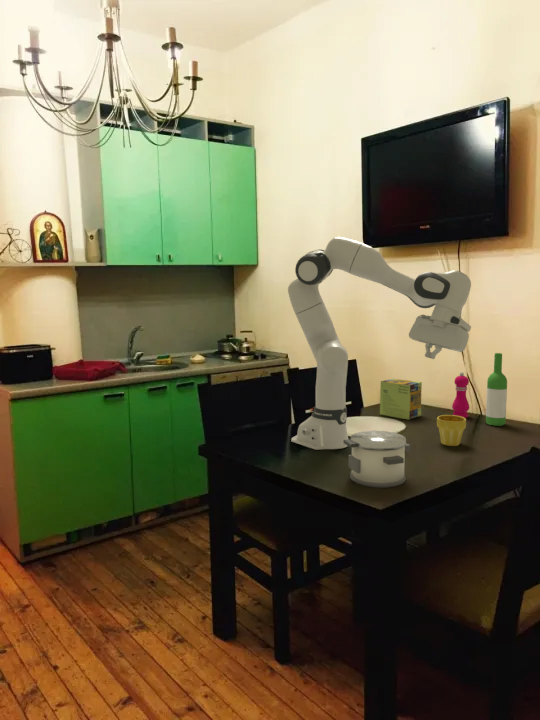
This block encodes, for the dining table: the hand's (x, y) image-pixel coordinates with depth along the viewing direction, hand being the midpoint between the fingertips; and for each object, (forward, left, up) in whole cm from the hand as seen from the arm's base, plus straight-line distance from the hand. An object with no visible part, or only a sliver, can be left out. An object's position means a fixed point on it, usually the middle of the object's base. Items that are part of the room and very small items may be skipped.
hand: (429, 357), depth 191 cm
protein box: (-39, +53, -35) cm, 75 cm away
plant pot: (-2, +24, -35) cm, 42 cm away
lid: (-4, -27, -24) cm, 36 cm away
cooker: (-3, -26, -35) cm, 44 cm away
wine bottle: (0, +63, -35) cm, 72 cm away
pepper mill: (-17, +67, -35) cm, 77 cm away
